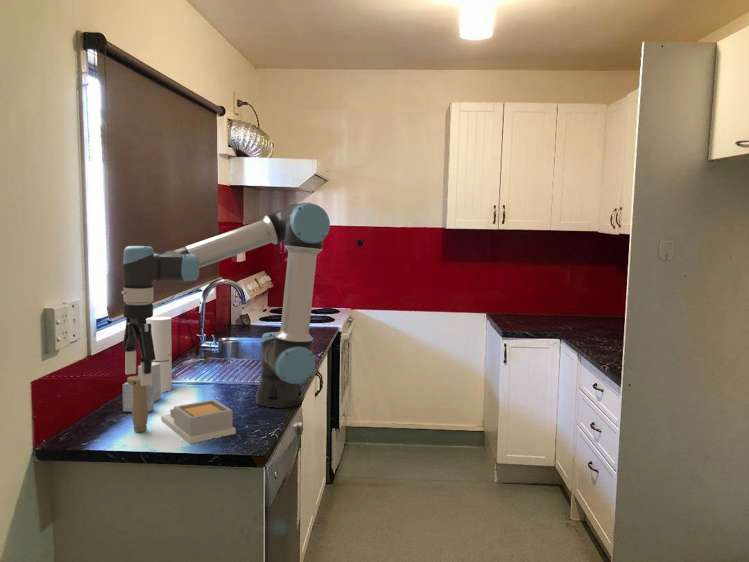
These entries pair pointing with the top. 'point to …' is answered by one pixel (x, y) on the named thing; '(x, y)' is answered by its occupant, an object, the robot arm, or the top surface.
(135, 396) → the handle
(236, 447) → the top surface
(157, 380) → the skincare box
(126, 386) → the medicine box
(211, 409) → the button
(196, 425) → the switch panel
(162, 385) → the cylindrical container
